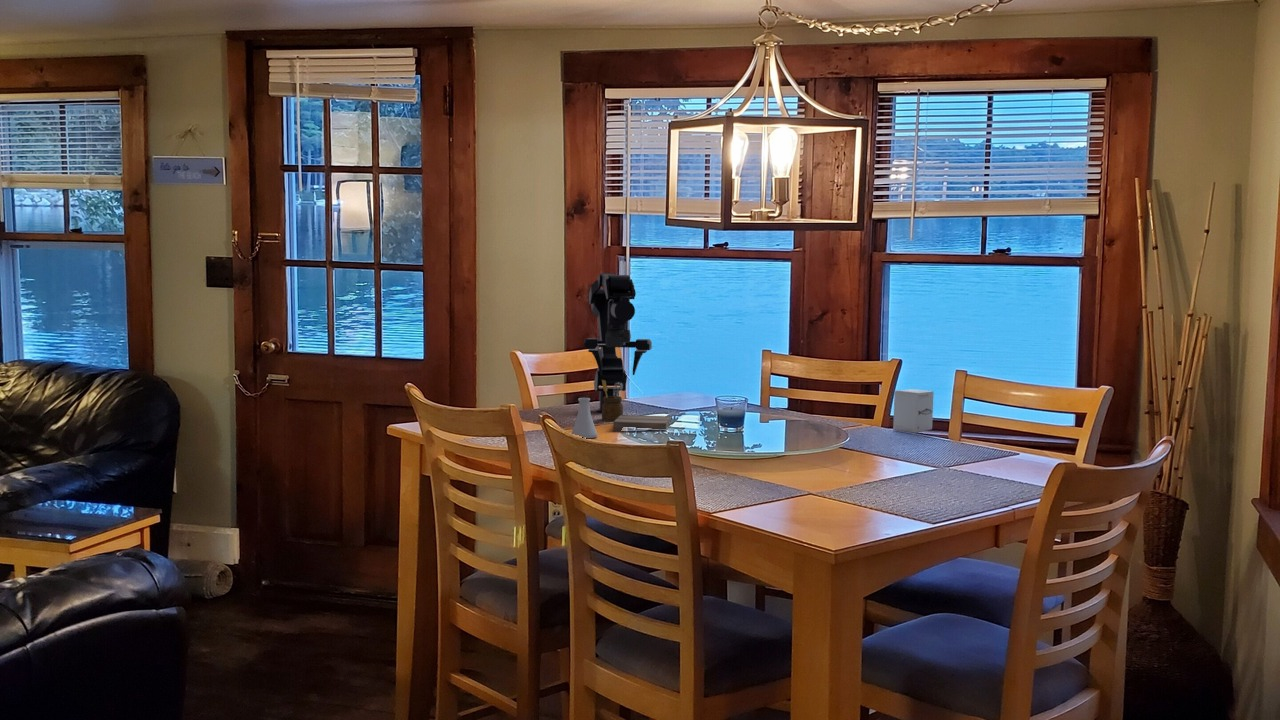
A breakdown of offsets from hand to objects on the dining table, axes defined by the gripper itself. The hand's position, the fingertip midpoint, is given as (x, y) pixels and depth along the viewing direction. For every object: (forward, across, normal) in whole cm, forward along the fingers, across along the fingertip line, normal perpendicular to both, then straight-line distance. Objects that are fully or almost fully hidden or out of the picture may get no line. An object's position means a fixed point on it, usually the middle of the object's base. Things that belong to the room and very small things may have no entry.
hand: (617, 374), depth 324 cm
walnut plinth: (+13, +9, -14) cm, 21 cm away
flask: (+13, -4, -32) cm, 35 cm away
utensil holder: (+13, -1, -3) cm, 14 cm away
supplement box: (+13, +80, -19) cm, 83 cm away
